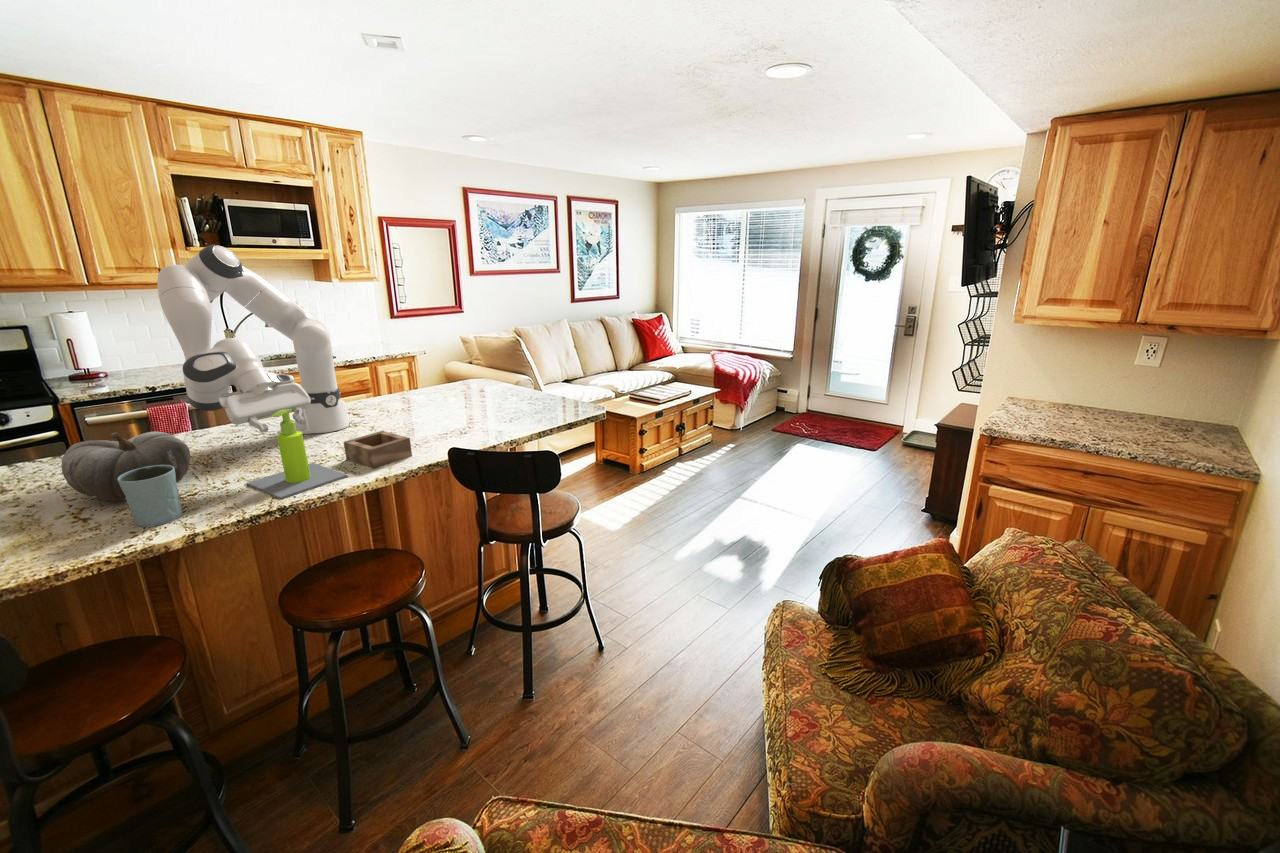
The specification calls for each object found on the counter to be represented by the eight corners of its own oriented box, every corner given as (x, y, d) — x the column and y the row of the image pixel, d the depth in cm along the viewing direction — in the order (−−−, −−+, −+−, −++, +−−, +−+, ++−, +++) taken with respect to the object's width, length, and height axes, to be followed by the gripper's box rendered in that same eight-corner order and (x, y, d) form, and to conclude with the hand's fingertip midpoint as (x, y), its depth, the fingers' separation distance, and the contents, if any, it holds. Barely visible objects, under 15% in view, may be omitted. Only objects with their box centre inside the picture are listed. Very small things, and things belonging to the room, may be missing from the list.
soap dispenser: (278, 484, 150) (263, 413, 144) (295, 474, 156) (281, 406, 150) (299, 484, 149) (284, 414, 143) (315, 475, 156) (302, 407, 150)
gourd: (39, 493, 139) (37, 427, 136) (153, 473, 162) (153, 416, 159) (103, 518, 132) (102, 448, 129) (212, 494, 155) (214, 434, 152)
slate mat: (246, 484, 151) (246, 482, 151) (313, 464, 166) (312, 462, 165) (280, 499, 142) (280, 497, 142) (347, 476, 156) (347, 474, 156)
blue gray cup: (180, 506, 138) (168, 461, 135) (191, 517, 132) (179, 471, 129) (127, 520, 131) (113, 473, 127) (136, 533, 125) (121, 484, 121)
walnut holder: (346, 460, 169) (343, 441, 167) (384, 448, 180) (382, 430, 178) (374, 469, 162) (371, 449, 160) (412, 456, 173) (409, 437, 171)
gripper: (217, 388, 143) (244, 430, 141) (297, 374, 160) (322, 411, 158) (213, 402, 147) (239, 443, 145) (292, 387, 163) (316, 423, 161)
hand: (283, 426), depth 151 cm, fingers open, 8 cm apart
